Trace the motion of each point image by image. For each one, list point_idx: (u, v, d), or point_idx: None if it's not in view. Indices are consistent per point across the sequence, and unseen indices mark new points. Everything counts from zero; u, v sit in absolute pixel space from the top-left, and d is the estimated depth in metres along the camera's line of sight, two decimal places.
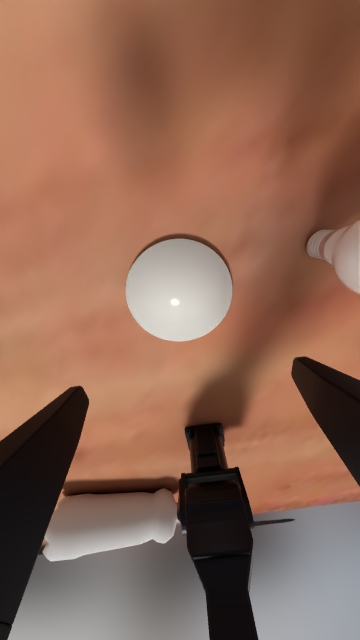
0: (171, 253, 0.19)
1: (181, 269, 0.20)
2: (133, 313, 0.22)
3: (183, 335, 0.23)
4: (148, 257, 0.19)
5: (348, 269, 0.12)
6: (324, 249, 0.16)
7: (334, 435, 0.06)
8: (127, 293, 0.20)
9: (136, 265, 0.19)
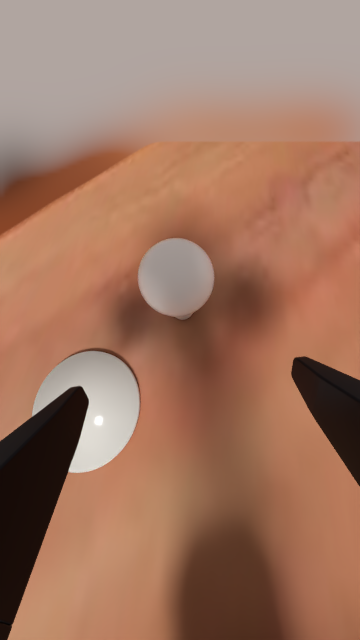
0: (68, 369, 0.21)
1: (79, 379, 0.21)
2: None
3: (102, 455, 0.18)
4: (49, 381, 0.21)
5: (148, 303, 0.15)
6: None
7: (334, 435, 0.06)
8: None
9: (40, 393, 0.21)
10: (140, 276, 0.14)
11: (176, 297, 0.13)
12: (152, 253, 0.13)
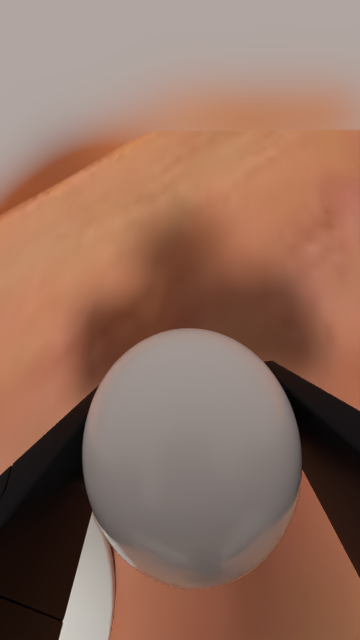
0: None
1: None
2: None
3: None
4: None
5: None
6: None
7: None
8: None
9: None
10: None
11: (196, 588, 0.04)
12: (115, 419, 0.04)
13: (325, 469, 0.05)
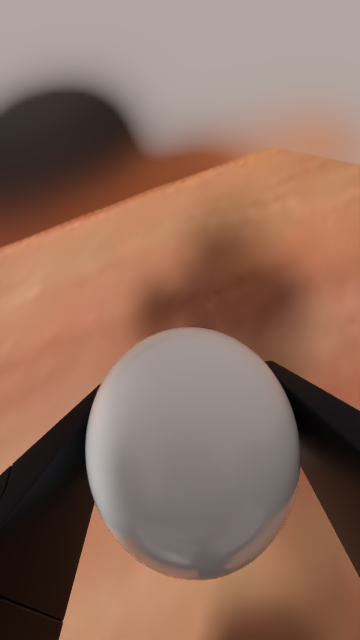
0: None
1: None
2: None
3: None
4: None
5: None
6: None
7: None
8: None
9: None
10: None
11: (196, 580, 0.04)
12: (117, 415, 0.04)
13: (325, 469, 0.05)
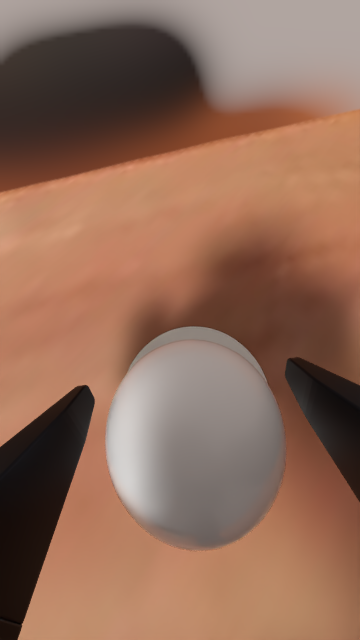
0: None
1: None
2: None
3: None
4: (158, 344, 0.16)
5: None
6: None
7: (326, 436, 0.06)
8: None
9: (143, 353, 0.16)
10: (108, 455, 0.05)
11: (200, 549, 0.05)
12: (138, 418, 0.05)
13: None
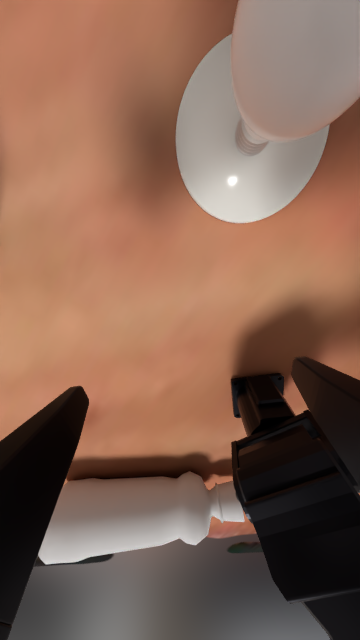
0: None
1: None
2: (182, 170, 0.16)
3: (247, 212, 0.17)
4: (214, 63, 0.13)
5: (250, 107, 0.08)
6: (245, 128, 0.12)
7: (334, 435, 0.06)
8: (178, 132, 0.15)
9: (195, 79, 0.14)
10: (262, 11, 0.06)
11: (333, 81, 0.07)
12: None
13: None
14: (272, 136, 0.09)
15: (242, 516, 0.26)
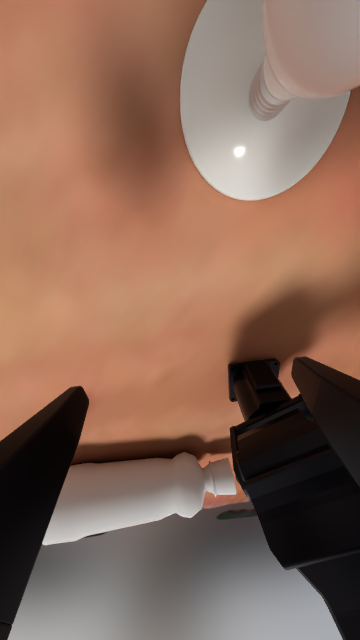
0: None
1: None
2: (187, 134, 0.14)
3: (256, 188, 0.15)
4: None
5: (287, 46, 0.07)
6: (265, 82, 0.10)
7: (334, 435, 0.06)
8: (183, 85, 0.13)
9: (206, 15, 0.11)
10: None
11: None
12: None
13: None
14: (305, 89, 0.08)
15: (234, 489, 0.27)
